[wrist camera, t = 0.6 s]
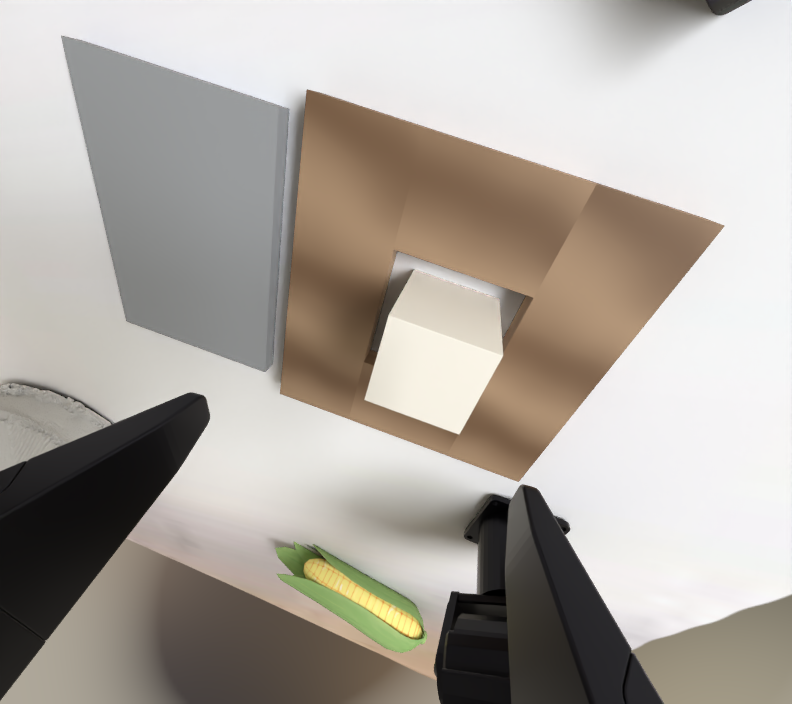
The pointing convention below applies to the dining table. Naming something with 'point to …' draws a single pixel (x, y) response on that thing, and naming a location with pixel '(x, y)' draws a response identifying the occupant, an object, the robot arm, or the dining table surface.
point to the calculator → (725, 5)
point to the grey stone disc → (40, 422)
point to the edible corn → (354, 598)
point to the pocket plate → (469, 273)
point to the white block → (437, 352)
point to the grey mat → (186, 199)
